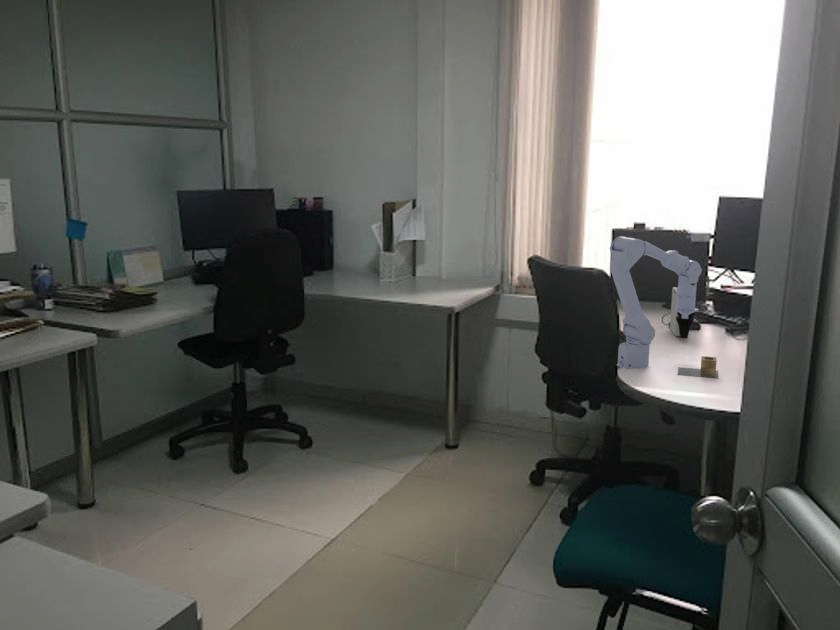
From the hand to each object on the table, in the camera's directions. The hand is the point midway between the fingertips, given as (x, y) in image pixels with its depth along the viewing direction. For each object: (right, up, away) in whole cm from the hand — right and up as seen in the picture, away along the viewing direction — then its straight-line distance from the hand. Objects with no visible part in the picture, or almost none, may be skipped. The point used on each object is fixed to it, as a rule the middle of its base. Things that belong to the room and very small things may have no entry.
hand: (684, 335), depth 240 cm
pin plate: (-1, -13, -13) cm, 18 cm away
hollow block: (+2, -12, -14) cm, 19 cm away
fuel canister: (+13, -1, +40) cm, 42 cm away
